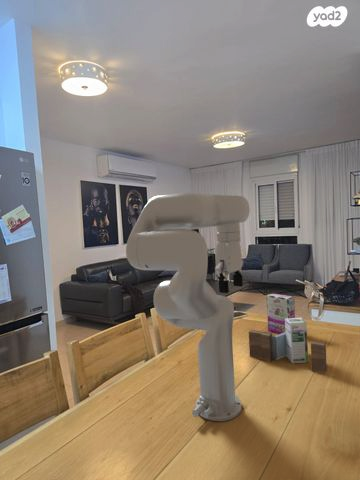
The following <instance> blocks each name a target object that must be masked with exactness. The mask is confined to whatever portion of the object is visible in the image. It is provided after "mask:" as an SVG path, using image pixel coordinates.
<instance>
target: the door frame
mask: <svg viewBox="0 0 360 480" xmlns="http://www.w3.org/2000/svg"><path fill="white" fill-rule="evenodd" d="M272 335H273V332H271V331H265V330H264V331H260V330H255V329H250V330H248V345H249V347H248V348H249V357H252V358H257V359H260V360H262V361H265V362H269V363H270V362H272V360H273V346H272ZM310 355H311V357H310V358H311V372H315V373H319V374H322V375H326V373H327V369H328V368H327V367H328V366H327V343H326V342H323V341H318V340H312V341H310Z"/></svg>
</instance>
